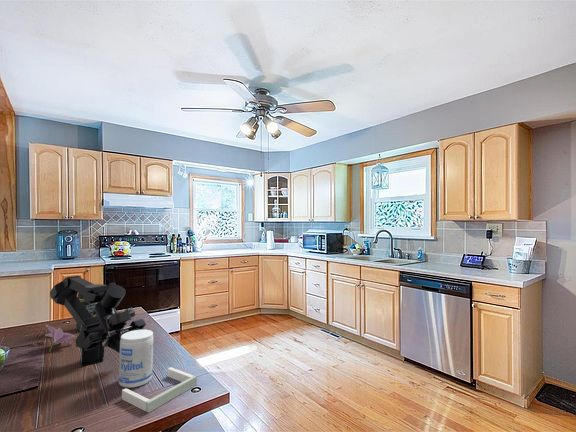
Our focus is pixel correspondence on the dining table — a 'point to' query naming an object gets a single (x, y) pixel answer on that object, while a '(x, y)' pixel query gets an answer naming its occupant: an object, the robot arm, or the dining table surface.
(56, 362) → the dining table surface
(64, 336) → the lily
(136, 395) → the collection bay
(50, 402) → the dining table surface
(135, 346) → the supplement tub
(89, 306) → the coffee jar
